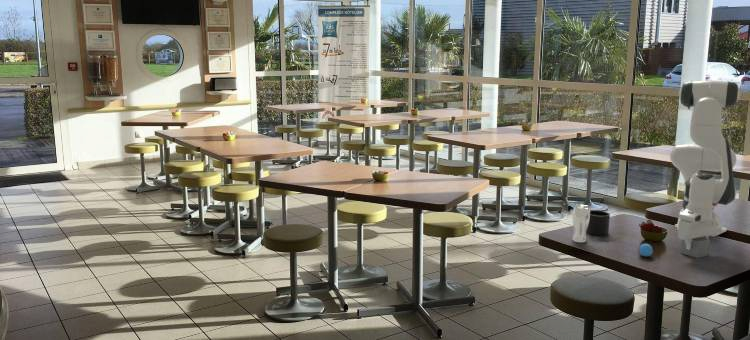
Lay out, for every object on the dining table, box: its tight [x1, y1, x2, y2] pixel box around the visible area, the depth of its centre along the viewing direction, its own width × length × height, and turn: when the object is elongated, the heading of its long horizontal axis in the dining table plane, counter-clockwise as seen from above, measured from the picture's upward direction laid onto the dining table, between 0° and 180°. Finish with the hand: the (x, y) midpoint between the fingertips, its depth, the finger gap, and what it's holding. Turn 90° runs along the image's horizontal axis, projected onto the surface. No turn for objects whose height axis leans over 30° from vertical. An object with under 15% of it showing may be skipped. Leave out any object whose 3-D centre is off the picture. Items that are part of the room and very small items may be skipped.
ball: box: [638, 243, 654, 257], centre depth 251 cm, size 5×5×5 cm
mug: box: [587, 210, 611, 237], centre depth 283 cm, size 9×12×9 cm
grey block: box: [680, 237, 711, 259], centre depth 254 cm, size 7×7×7 cm
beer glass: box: [571, 204, 591, 244], centre depth 270 cm, size 7×7×15 cm
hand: (695, 247), depth 254 cm, fingers open, 7 cm apart
